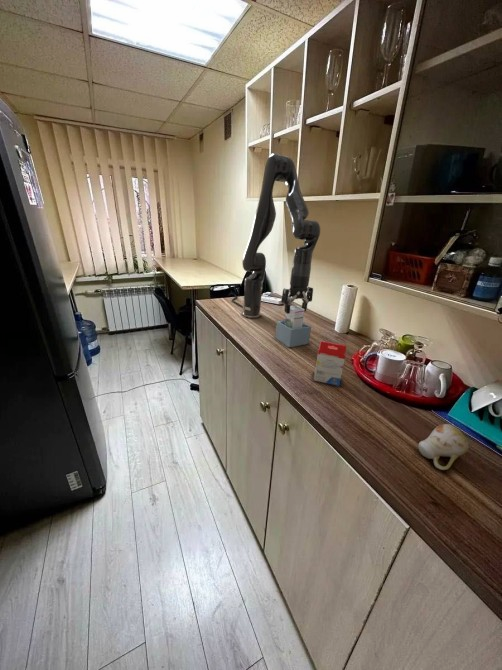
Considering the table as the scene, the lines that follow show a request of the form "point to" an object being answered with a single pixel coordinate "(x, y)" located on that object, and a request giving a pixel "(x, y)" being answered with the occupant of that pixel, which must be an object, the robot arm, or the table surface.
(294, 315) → the syrup box
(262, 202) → the robot arm
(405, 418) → the table surface
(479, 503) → the table surface
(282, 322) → the tidy
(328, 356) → the ink box
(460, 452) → the mug
